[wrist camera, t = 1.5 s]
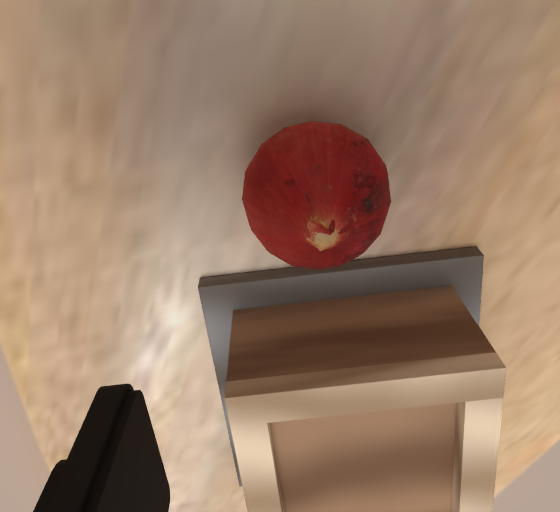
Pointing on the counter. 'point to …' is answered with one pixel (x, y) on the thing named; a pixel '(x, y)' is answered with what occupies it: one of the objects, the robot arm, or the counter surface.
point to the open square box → (359, 384)
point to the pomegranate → (316, 195)
